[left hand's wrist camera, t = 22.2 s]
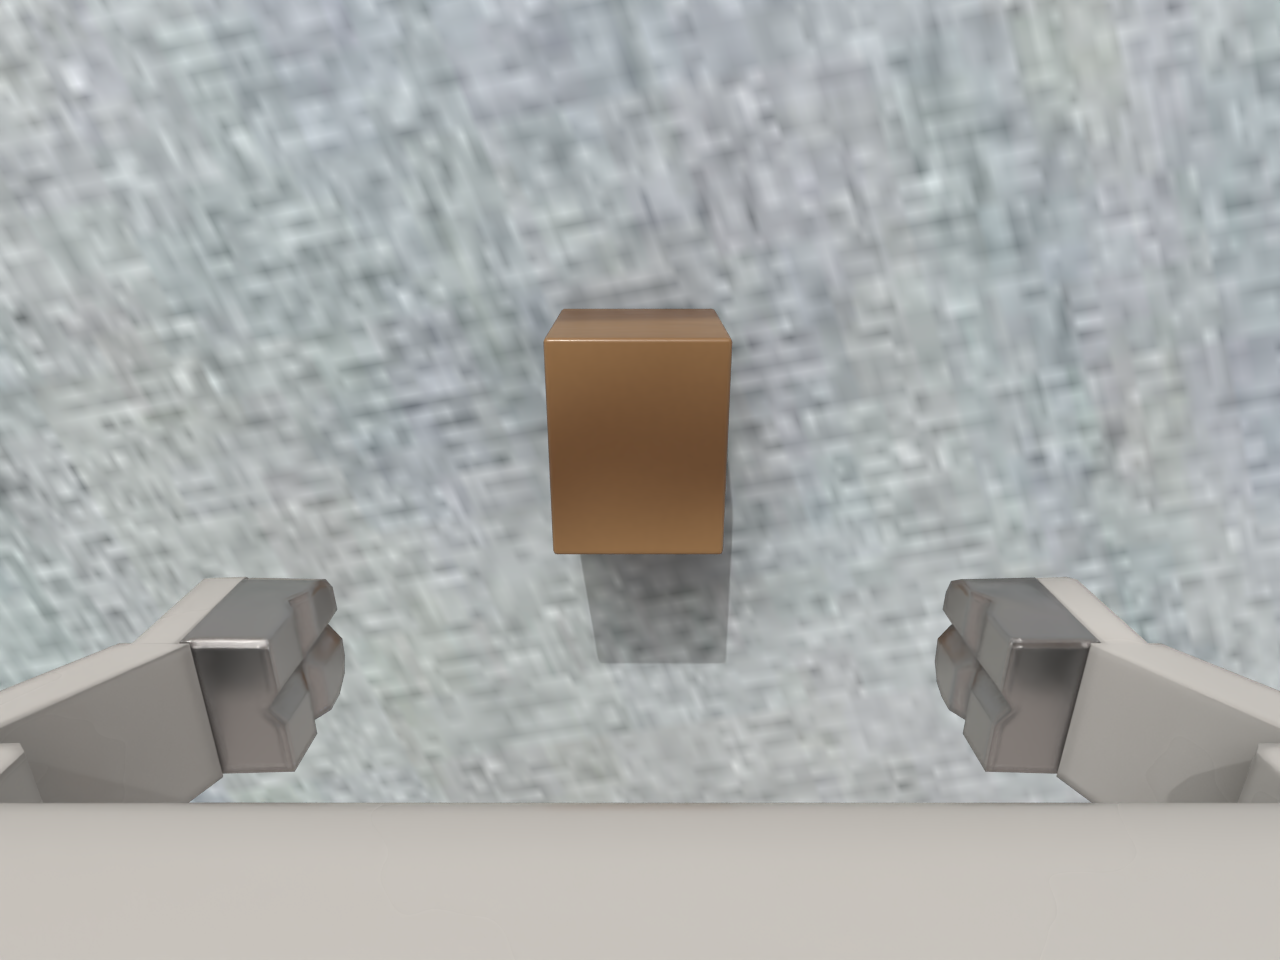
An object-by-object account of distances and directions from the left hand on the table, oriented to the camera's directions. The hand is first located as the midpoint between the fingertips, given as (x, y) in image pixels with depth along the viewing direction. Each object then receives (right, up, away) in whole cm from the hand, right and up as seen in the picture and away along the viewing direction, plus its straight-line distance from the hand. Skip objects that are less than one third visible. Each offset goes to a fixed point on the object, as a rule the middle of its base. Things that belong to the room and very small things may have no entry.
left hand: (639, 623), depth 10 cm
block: (0, +4, +10) cm, 11 cm away
